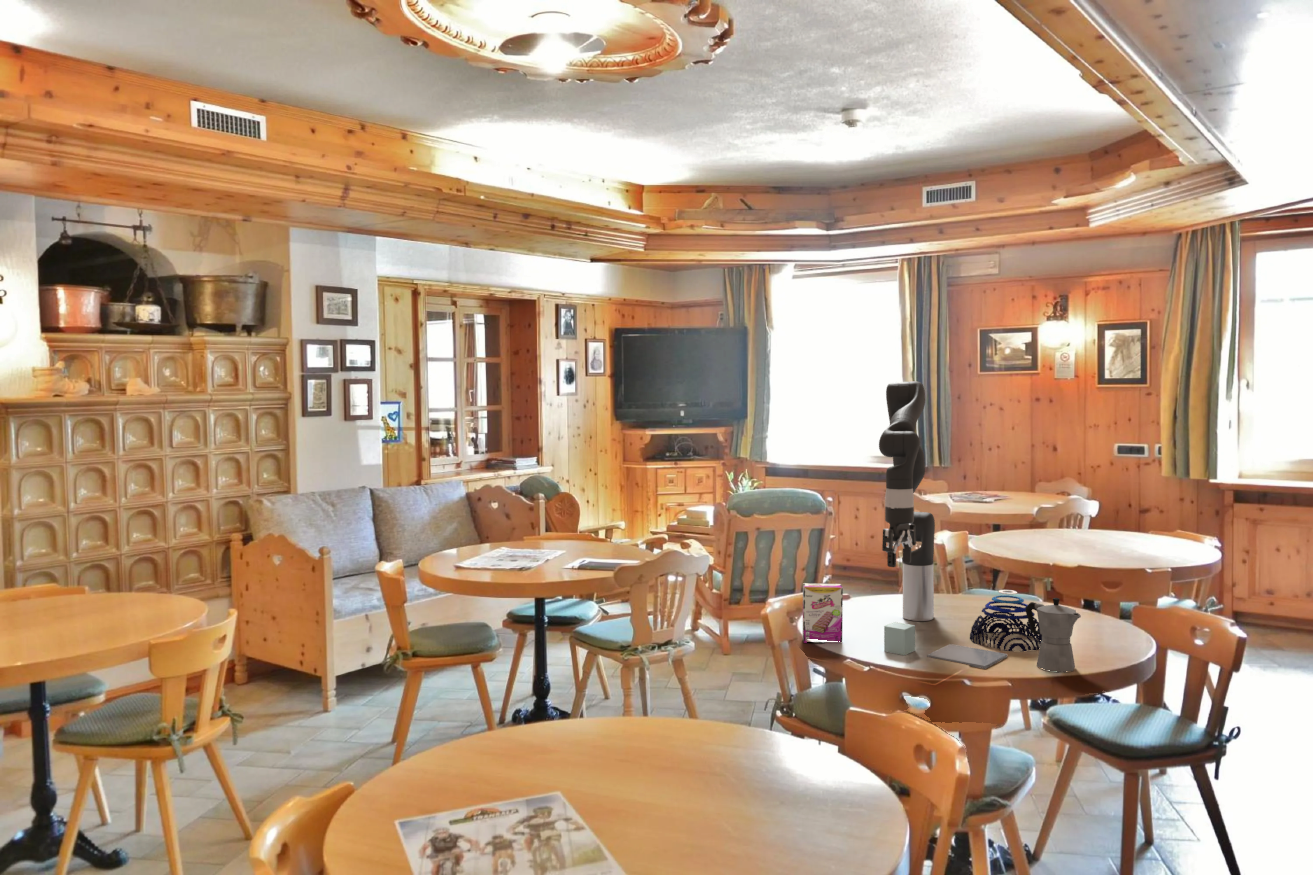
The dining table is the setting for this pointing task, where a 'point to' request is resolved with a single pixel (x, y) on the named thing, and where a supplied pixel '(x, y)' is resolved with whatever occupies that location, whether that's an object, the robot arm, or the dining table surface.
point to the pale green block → (899, 638)
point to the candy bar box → (822, 611)
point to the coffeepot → (1054, 635)
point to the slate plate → (968, 655)
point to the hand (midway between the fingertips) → (899, 564)
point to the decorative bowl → (1004, 629)
